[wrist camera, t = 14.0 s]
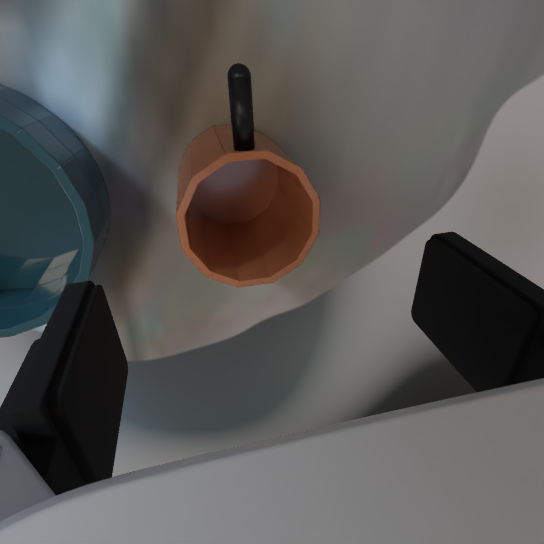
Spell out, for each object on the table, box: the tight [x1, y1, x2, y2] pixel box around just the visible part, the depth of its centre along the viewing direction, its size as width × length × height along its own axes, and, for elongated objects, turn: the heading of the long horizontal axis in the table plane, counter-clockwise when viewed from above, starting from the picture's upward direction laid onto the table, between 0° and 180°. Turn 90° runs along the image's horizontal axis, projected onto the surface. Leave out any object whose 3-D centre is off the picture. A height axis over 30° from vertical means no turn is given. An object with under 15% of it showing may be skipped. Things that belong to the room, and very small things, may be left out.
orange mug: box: [176, 63, 320, 287], centre depth 21 cm, size 11×7×9 cm
